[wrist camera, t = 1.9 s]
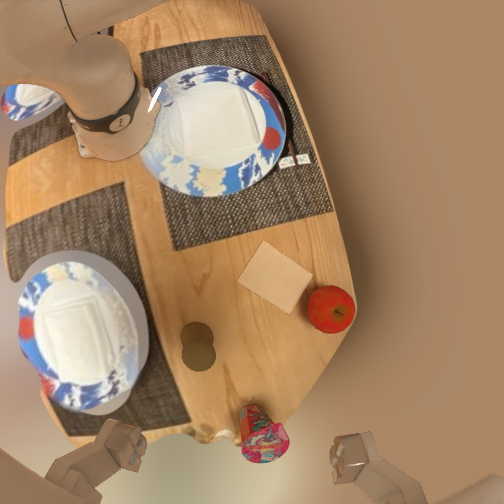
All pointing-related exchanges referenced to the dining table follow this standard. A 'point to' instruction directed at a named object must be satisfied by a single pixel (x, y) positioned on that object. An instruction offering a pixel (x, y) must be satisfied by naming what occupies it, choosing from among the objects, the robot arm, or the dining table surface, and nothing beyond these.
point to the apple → (330, 309)
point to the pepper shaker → (198, 347)
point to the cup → (261, 436)
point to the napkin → (275, 277)
